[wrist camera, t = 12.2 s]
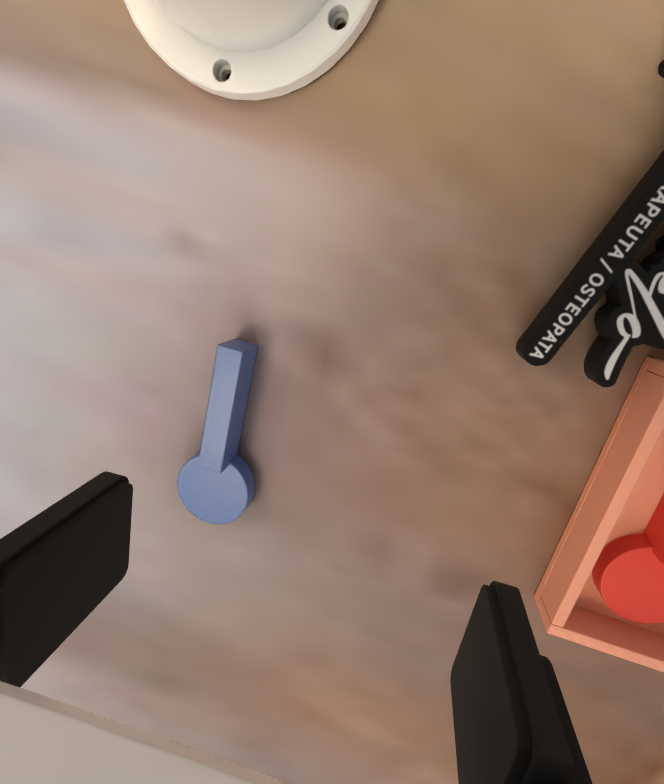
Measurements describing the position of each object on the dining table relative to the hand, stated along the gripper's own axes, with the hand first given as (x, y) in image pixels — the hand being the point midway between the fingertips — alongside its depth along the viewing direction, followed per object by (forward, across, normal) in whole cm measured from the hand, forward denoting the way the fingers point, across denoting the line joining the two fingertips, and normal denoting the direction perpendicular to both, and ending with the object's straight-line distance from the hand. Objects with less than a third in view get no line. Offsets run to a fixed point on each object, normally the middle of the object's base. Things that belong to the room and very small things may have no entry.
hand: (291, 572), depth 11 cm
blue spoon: (+13, +7, +3) cm, 15 cm away
